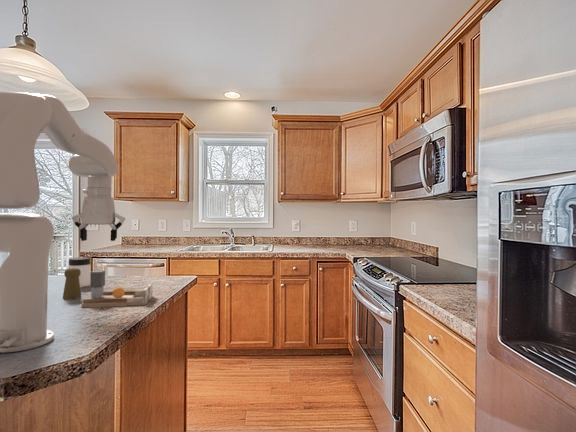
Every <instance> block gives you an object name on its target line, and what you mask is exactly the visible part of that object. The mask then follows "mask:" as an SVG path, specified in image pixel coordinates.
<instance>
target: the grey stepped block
mask: <svg viewBox="0 0 576 432" xmlns="http://www.w3.org/2000/svg"><path fill="white" fill-rule="evenodd" d="M105 285H106V270H93V271H91V277H90V286H89V288H91V294H90V295H91V297H90V298H91V299H98V298H100V297H101V296H103V292H104V287H105Z"/></svg>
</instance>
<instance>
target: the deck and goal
mask: <svg viewBox="0 0 576 432" xmlns="http://www.w3.org/2000/svg"><path fill="white" fill-rule="evenodd" d="M124 291H125V293H124V295H123V296H122V297H121V298H115V297H114V296H113V295H112V292H113V290H112V291H110V290H108V291H107V290H105V291H104V290H103V296H101V297H100V298H98V299H91V297H90V298H84V299H83V298H82V299H83V300H82V303H81V308H103V307H106V308H108V307H110V308H111V307H127V306H146V305H147V304H148V302H149V301H150V300H151V299H152V298H153V283H149V284H148V285H146V286H145V287H144V289H142V290H124Z"/></svg>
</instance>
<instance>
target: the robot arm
mask: <svg viewBox="0 0 576 432" xmlns="http://www.w3.org/2000/svg"><path fill="white" fill-rule="evenodd" d="M42 132H43V133H44V135H46V136H47V138H48V139H49V141H51V143H53V146H55V147H56V148H57V149H59V150H61V151H63V152H66V153H69V154H72V156H71V157H70V158H69V160H68V169H69V170H70V172H71V173H72V174H74V176H76V177H81V178H82V177H83V178H87V188H86V189H83V190H82V193H83V194H86V196H84V197H83V201H82V207H81V213H78V214H76V215H74V216H72V217H71V220H72V221H73V223H74V225H75V226H76V227H77V228H78V230H79V238H80V241H82V242H83V241H87V240H88V230H87V227H88V226H89V225H95V226H96V225H98V226H99V225H100V226H101V225H103V226H104V225H109V228H111V230H110V241H111V242H113V241H114V242H115V241H116V239H117V238H118V237H117V236H118V230H119V228H121V227H122V226H123V224H124V222H125V220H126V218H125V216H121V214H118V213H116V208H115V207H116V206H115V201H114V197H112V184H113V183H112V179H113V177H115V176H116V174H117V173H118V168H119V166H118V161H117V159H116V157H115V155H114V154H113V152H112V150H111V149H110V147H109V146H108V145H107V144H106V143H103V142H102V141H101V140H99V139H98V138H95V137H94V136H93V135H90V134H89V133H86V132H84V131H83V130H82V129H81V128H80V126H79V125H78V123H77V122H76V120H75V119H74V117H73V116H72V115H71V113H70V112H69V110H68V108H67V107H66V105H65V104H64V103H63V102H62V100H60V99H59V98H58V97H55V96H53V95H49V94H43V93H42V94H40V93H29V92H18V91H17V92H16V91H0V209H1V210H4V209H5V210H21V209H22V210H23V209H29V208H33V207H35V206H36V205H37V204H38V203H39V201H40V196H41V195H40V194H41V192H40V184H39V183H40V182H39V178H38V177H39V176H38V169H37V166H36V165H37V164H36V157H35V147H36V143H37V140H39V139H38V138H39V136H40V135H41V133H42ZM79 219H80V221H81V222H80V221H79ZM116 219H118V222H116ZM115 222H116V223H115ZM54 233H55V232H54V225H53V223H52V221H51V220H50V219H49V218H47V217H46V216H44V215H41V214H37V213H31V212H30V213H28V212H0V253H8V254H9V255H8V256H7V257H6V259H5V260H4V261H3V263H2V264H1V265H0V353H3V354H4V353H15V352H22V351H27V350H32V349H35V348H39V347H40V346H44V345H46V344H48V343H50V342H52V341H53V340H54V338H55V333H54V331H52V330H49V329H48V327H47V326H48V290H49V289H48V283H49V281H48V279H49V278H48V274H49V258H50V251H51V247H52V242H53V239H54Z"/></svg>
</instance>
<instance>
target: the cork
mask: <svg viewBox="0 0 576 432" xmlns="http://www.w3.org/2000/svg"><path fill="white" fill-rule="evenodd" d="M63 274H64V277H65V281H64V288H63V293H62V299H63V300H76V299H80V298H82V293H81V292H82V291H81V287H80V282H79V276H80V274H81V271H80V269H78V268H69V269H68V268H67V269H65V270H64V272H63Z"/></svg>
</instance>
